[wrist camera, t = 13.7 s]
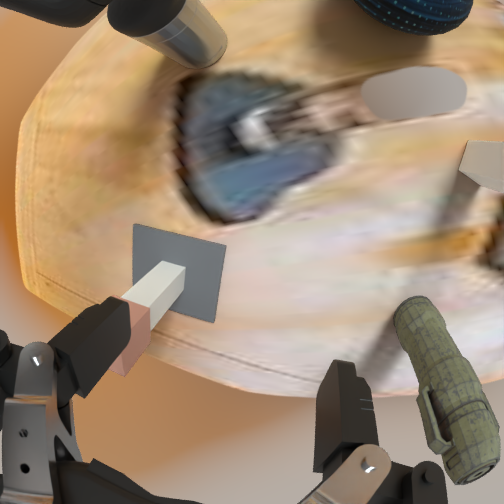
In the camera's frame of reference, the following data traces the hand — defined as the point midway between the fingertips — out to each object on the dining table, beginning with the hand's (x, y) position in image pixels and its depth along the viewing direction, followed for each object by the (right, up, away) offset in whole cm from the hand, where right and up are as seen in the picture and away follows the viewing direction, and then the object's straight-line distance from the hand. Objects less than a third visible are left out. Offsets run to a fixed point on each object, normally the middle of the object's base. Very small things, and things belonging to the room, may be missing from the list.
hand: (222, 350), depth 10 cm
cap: (-16, -6, +27) cm, 32 cm away
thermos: (+32, -8, +37) cm, 49 cm away
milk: (+39, +19, +25) cm, 50 cm away
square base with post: (-13, 0, +42) cm, 44 cm away
